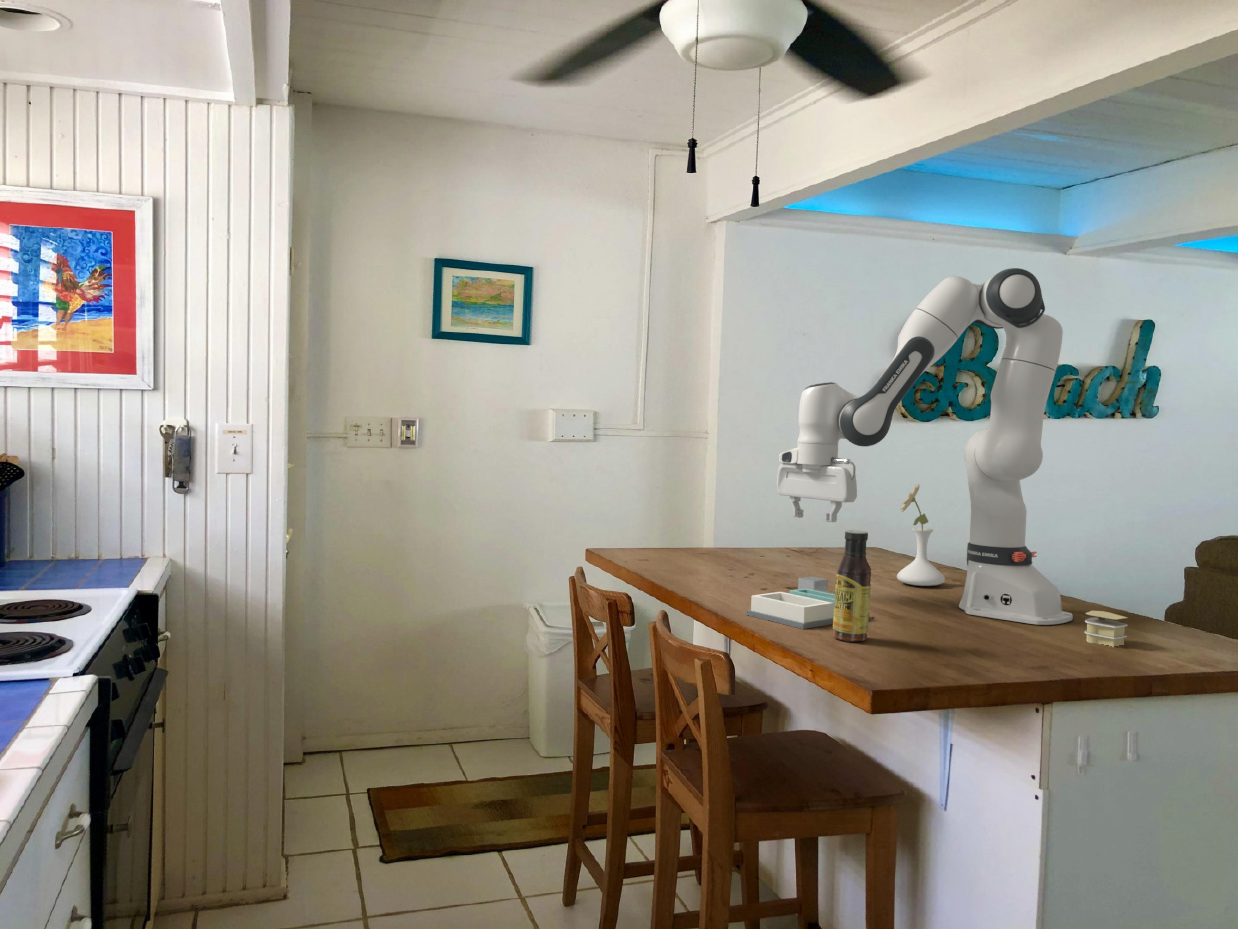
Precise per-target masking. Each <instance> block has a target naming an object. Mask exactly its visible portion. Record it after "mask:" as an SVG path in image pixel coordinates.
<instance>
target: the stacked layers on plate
mask: <svg viewBox="0 0 1238 929" xmlns="http://www.w3.org/2000/svg"><path fill="white" fill-rule="evenodd" d="M1085 614H1086V615H1088V616H1093V617H1089V618H1087V619H1085V620H1084V622H1085V623H1086V630H1084V634H1086V640H1085V641H1087V643H1090V644H1094V643H1095V645H1101V644H1104V645H1103V646H1105V645H1109V646H1108V647H1110V646H1112V647H1111V648H1115V647H1114V646H1118V647H1120V646H1119V645H1123V646H1124V645H1125V638H1127V637H1128V635H1126V634H1125V632H1126V631H1125V630H1126V629H1125V628H1126V627H1128V624H1127V623H1123V622H1120V621H1116V620H1122V619H1128V616H1127V617H1126V616H1123V615H1120V614H1116V613H1112V612H1109V611H1105V610H1103V611H1102V610H1090V611H1087V612H1085Z"/></svg>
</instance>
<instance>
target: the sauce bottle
mask: <svg viewBox="0 0 1238 929" xmlns="http://www.w3.org/2000/svg"><path fill="white" fill-rule="evenodd" d="M868 539H869V532H867V531H866V530H865V531H864V530H855V529H849V530H846V531H845V532H844V540H845V543H844V544H845V546H844V552H843V556H842V558H841V561H840V563H839V565H838V569H837V571H836V574H835V575H836V576H835V587H834V594H835V602H834V617H833V624H832V632H833V633H832V634H833V637H834V638H835V639H837V640H839V641H843V642H847V643H848V642H850V643H851V642H852V643H853V642H864V641H866V640H867V638H868V635H867V634H868V629H869V619H870V615H869V613H870V604H871V601H870V600H871V589H872V588H871V586H872V584H871V577H872V568H871V566H870V564H869V562H868V559H867V541H868Z"/></svg>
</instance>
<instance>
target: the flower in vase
mask: <svg viewBox="0 0 1238 929" xmlns="http://www.w3.org/2000/svg"><path fill="white" fill-rule="evenodd" d="M920 487H921V486H920V483H918V484H916V485H914V487H913V488H912V489H913V490H912V491H910V492H909V493H908V498H907V499H906V500H904V501H903V503H902V506H901V507H900V511H901V513H902V512H904V511H906V510H907V509H908V508H909V507H910V505H911V504H912V503H914V504H915V505H916V508H917V510H918V513H919V516H917V517H916V518H915V519H914V521H913V523H912V525H913V526H916V525H917V524H918V523H920V526H921V527H913V528H911V530H912V532H913V533H914V535H915V536H914V537H915V539H916V555H915V559H914V560H913V561H911V562H910V563H909V564H908V565H906V566H904V568H902V569H901V570H899V572H898V573H897V575H896V578H897V580H898V581H899V582H902V583H904V584H907V585H911V586H918V587H932V586H939V585H941V584H943V583H944V582H945V581H946V578H945V575H944V574H943V573H941V572H940V571H939V570H938V569H937V567H935V566H934V565H933V564H932V563H931V562H930V561H929V559H928V554H927V552H928V551H927V550H928V549H927V548H928V542H929V537H930V535H931V534H932V533H933V532H934V529H932V528H925V527H924V525H925V524H928V523H929V519H928V518H927V516H926V514H925V513H923V514H922V512H921V509H920V507H919V504H918V502H917V501H916V498H915V497H916V496H917V494H918V492H919V490H920Z"/></svg>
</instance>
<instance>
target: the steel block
mask: <svg viewBox="0 0 1238 929" xmlns="http://www.w3.org/2000/svg"><path fill="white" fill-rule="evenodd" d="M828 586H829V579H828V578H822V577H817V576H803V577H798V583H797V589H805V588H806V589H811V590H816V591H821V592H826V593H828Z"/></svg>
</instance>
